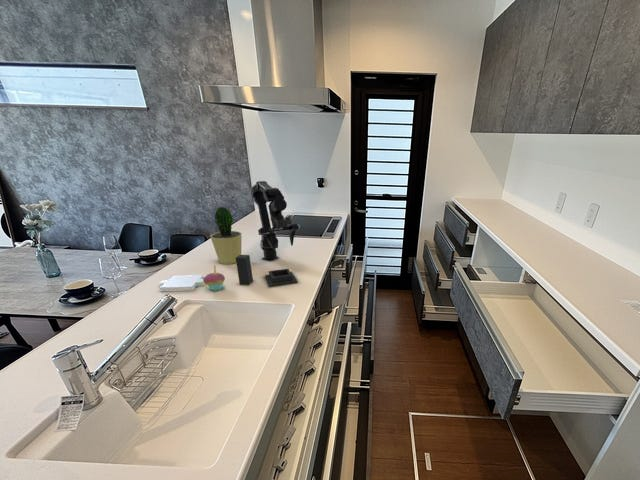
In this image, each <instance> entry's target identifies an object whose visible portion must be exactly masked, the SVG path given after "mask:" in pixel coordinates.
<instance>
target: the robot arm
mask: <svg viewBox="0 0 640 480" xmlns="http://www.w3.org/2000/svg"><path fill="white" fill-rule="evenodd" d="M250 195H251V198H252V199H253V203H255V204H256V205H257V208H258V214H259V218H260V223H261V227H260V228H258V231H257V232H258V236H261V237H260V238H261V239H260V243H259V246H260V249H261V250H262V251H263V257H262V258H261V259H262V260H265V261H269V262H272V261H274V260H277V259H279V256H278V254H277V250H276V249H278V248H279V239H278V237H277V234H276V233H277V232H285V231H289V232H288V235H289V236H288V237H289V243H290V246H291V247H293V246H294V239H295V234H296V233H297V232H298V231H299V230H301V227H300V224H299V223H292V218H291V216H286V217H284V214H283V211H284V210H286V209H287V206H288V204H287V202H286V200H285V196H284V195H283V193H282V191H281V190H280V189H279V188H278V187H272V186H271V185H270V184H268V182H267V181H266V180H259V181H258V180H257V181H256V182H255V184H254V185H252V187H251V188H250ZM267 203H269V204H268V206H267ZM269 215H270V216H269Z"/></svg>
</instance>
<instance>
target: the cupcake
mask: <svg viewBox="0 0 640 480" xmlns="http://www.w3.org/2000/svg"><path fill="white" fill-rule="evenodd" d="M203 277H204V279H203V282H204V283H205V284H204V285H206V286H208V288H209V290H210V291H220V290H221V289H223V285H224V283H225V280H226V278H225V276H224V274H222V273H220V272H217V267H216V264H214V265H213V272H211V273H208V274H206V275H205V276H203Z"/></svg>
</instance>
